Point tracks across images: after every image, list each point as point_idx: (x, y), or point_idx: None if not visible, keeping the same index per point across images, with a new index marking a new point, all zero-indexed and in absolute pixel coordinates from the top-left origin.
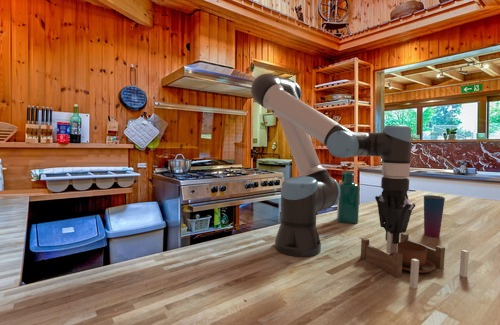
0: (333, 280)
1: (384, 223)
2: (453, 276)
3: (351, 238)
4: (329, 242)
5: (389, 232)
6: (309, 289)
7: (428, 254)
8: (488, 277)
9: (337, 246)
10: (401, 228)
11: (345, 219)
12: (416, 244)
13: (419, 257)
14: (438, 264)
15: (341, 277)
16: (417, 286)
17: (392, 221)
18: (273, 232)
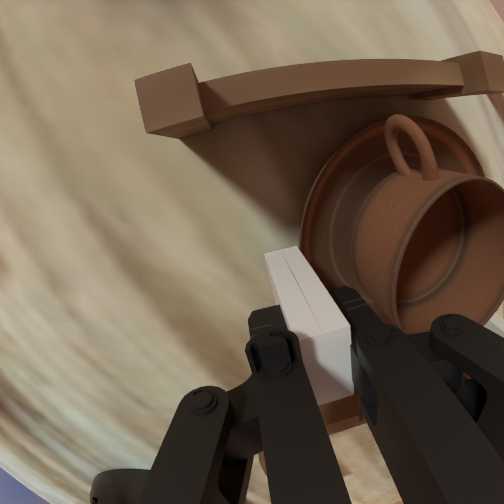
0: (376, 470)
1: (230, 456)
2: (483, 113)
3: (8, 323)
4: (85, 428)
5: (331, 399)
6: (385, 491)
7: (400, 89)
8: (481, 3)
9: (125, 425)
10: (481, 395)
11: None
12: (439, 190)
13: (492, 261)
14: (438, 98)
15: (372, 460)
16: (495, 313)
17: (402, 484)
18: (52, 491)
